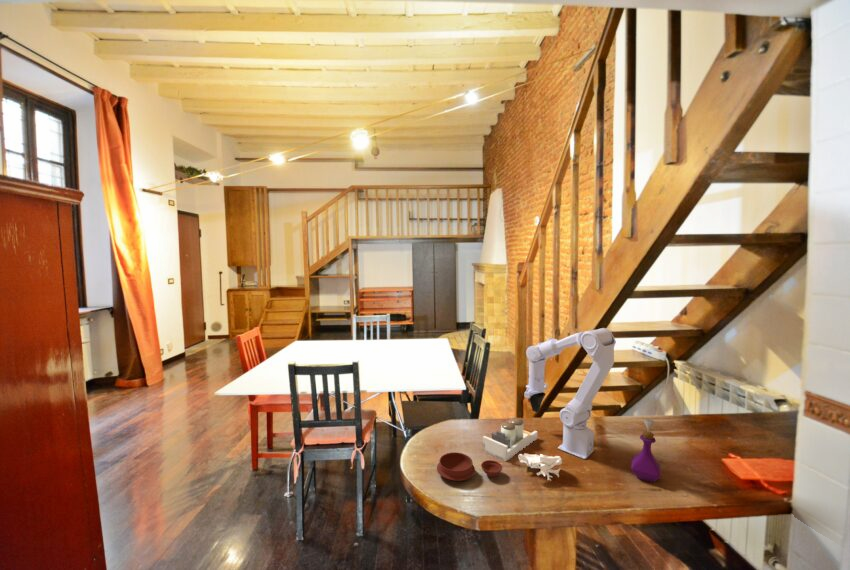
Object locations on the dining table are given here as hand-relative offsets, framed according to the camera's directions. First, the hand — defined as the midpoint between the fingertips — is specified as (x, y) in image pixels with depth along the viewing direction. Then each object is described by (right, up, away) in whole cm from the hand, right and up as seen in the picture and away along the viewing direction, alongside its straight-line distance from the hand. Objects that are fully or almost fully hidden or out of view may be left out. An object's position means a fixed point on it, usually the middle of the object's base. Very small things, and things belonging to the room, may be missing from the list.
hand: (535, 411), depth 140 cm
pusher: (-17, -8, -15) cm, 23 cm away
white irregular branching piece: (-6, -10, -26) cm, 29 cm away
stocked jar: (-13, -8, -12) cm, 19 cm away
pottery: (-29, -10, -28) cm, 41 cm away
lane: (-12, -9, -10) cm, 18 cm away
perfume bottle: (+25, -11, -28) cm, 39 cm away
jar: (-9, -7, -8) cm, 14 cm away
